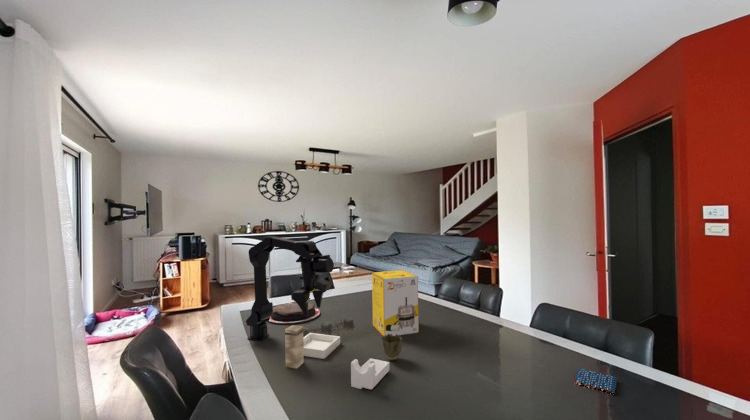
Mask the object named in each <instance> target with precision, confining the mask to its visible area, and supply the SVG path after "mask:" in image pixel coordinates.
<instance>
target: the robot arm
mask: <svg viewBox="0 0 750 420" xmlns="http://www.w3.org/2000/svg"><path fill="white" fill-rule="evenodd" d="M274 248H278V249H282V250H287V251H290V252H293V253H294V254H295V255H296V256H299V257H298V258H297V259H296V260H295V262H296V263H300V267H301V268H300V269H301V276H299V279H300V280H301V281H302V286H300V290H299V289H297V290H295V291H293V292H292V293H291V294H290V297H291V301H293V302H296V303H297V304H298V305H299V307H300V308H301V310H302V311H303V313H304V314H305V315H306V316H307V315H308V303H309V301H310V300H311V293H312V297H313V299H314V302H315V306H316V307H317V308H316V309H319V308H321V306H322V300H323V296H324V293H326V292H327V291H329V290H330V288H331V286H332V285H333V283H332V277H330V276H327V275H326V276H325V277H323V278H321V277H320V273H322V274H323V273H332V272H333V270H334V268H335V267H334V265H335V263H334V260H333V259H332V257H331V255H330V254H325V255H323V254H322V252H321V251H320V249H319V248H318V247H317V244H316V243H315V241H313V240H299V241H298V240H293V239H287V238H284V237H283V238H282V237H279V236H275V235H271V236H266V237H265V238H264V239H263V240H261V241H260V242H258V243H256V244H254V246H251V247H250V248H249V249H248V259H249V263H251V265H252V266H253V284H254V302H253V304H252V306H251V311H250V313H251V314H250V315H249V317H247V319H246V320H245V323H246V326H247V327H248V326H249V336H248V337H247V340H253V341H262V340H264V339H265V338H267V337H268V336H270V334H269V333H268V321H269V320H270V316H271V315H272V312H273V308H274V307H273V305H274V304H273V302H272V301H269V299H268V287H267V286H268V284H267V265H268V262H269V260H270V254H271V252H272V251H273V250H274Z"/></svg>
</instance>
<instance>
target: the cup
mask: <svg viewBox="0 0 750 420" xmlns="http://www.w3.org/2000/svg"><path fill="white" fill-rule="evenodd" d="M381 341H382V342H381V343H382V348H383V353H384V354H385V355H386V356H387V360H389V362H394V361H397V360H398V356H399V355H400V354H401V351H402V346H403V345H402V344H403V337H402V335H397V334H396V336H392V334H391V335H390V334H388V335H387V336H386V335H385V337H384V336H383V335H382V337H381Z"/></svg>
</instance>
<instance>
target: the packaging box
mask: <svg viewBox="0 0 750 420" xmlns="http://www.w3.org/2000/svg"><path fill="white" fill-rule="evenodd" d="M371 285H372V286H371V288H372V289H371V290H372V291H371V292H372V293H371V294H372V295H371V296H372V300H371V302H372V326H373V327H374V328H375V329H376V330H377V331H378V332H379V333H380V335H382V337H383V336H384V337H385V335H386V336H387V335H388V334H390V335H391V334H392V336H396V334H397V335H400V336H402V335H403V336H404V335H411V334H417V333H419V330H420V329H419V328H420V326H419V321H420V319H419V276H418V275H417V274H414V273H411V272H409V271H406V270H404V269H401V270H387V271H376V272H375V271H374V272H371Z"/></svg>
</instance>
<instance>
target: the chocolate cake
mask: <svg viewBox="0 0 750 420" xmlns="http://www.w3.org/2000/svg"><path fill="white" fill-rule="evenodd" d="M320 314H321V311H320V309H319V308H316V304H314V303H309V302H308V315H307V316H306V315H305V314H304V313H303V311H302V310H301V308H300V307H299V305H298V304H297V303H296V301H292V302H286V303H281V304H278V305H277V306H274V307H273V312H272V315H271V316H270V320H269V321H267V323H268V322H270V323H273V324H275V325H296V324H304V323H307V322H308V321H309V322H310V321H313V320H314V319H316V318H317V317H318V316H319V315H320Z"/></svg>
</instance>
